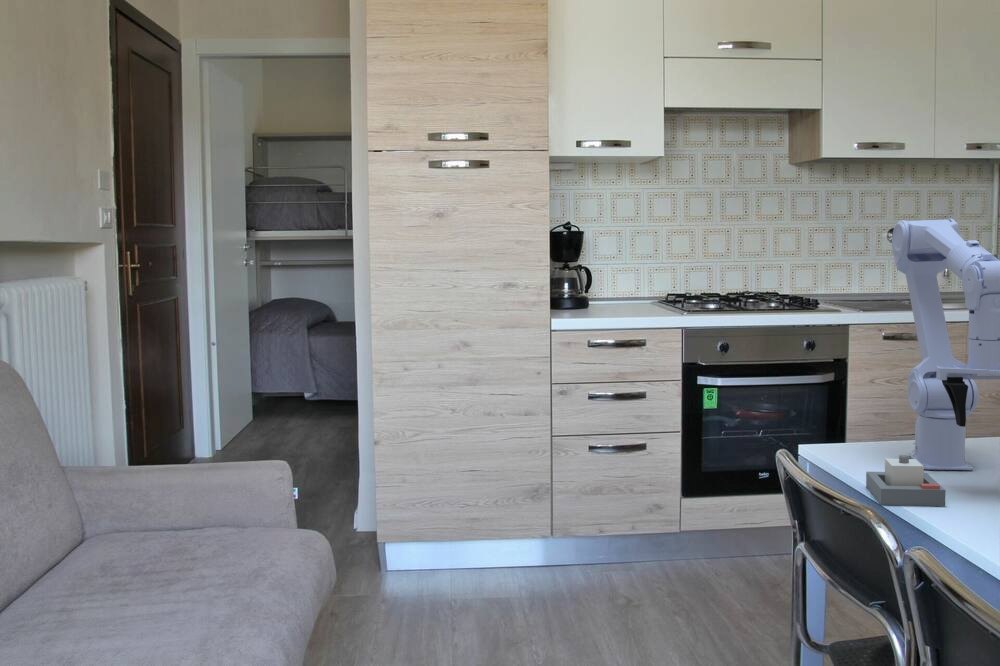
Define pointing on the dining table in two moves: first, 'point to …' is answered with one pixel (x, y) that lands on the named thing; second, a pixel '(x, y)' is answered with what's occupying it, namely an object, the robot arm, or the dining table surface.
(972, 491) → the dining table surface
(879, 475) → the socket plate
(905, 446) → the dining table surface
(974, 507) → the dining table surface
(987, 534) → the dining table surface
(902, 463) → the plug
